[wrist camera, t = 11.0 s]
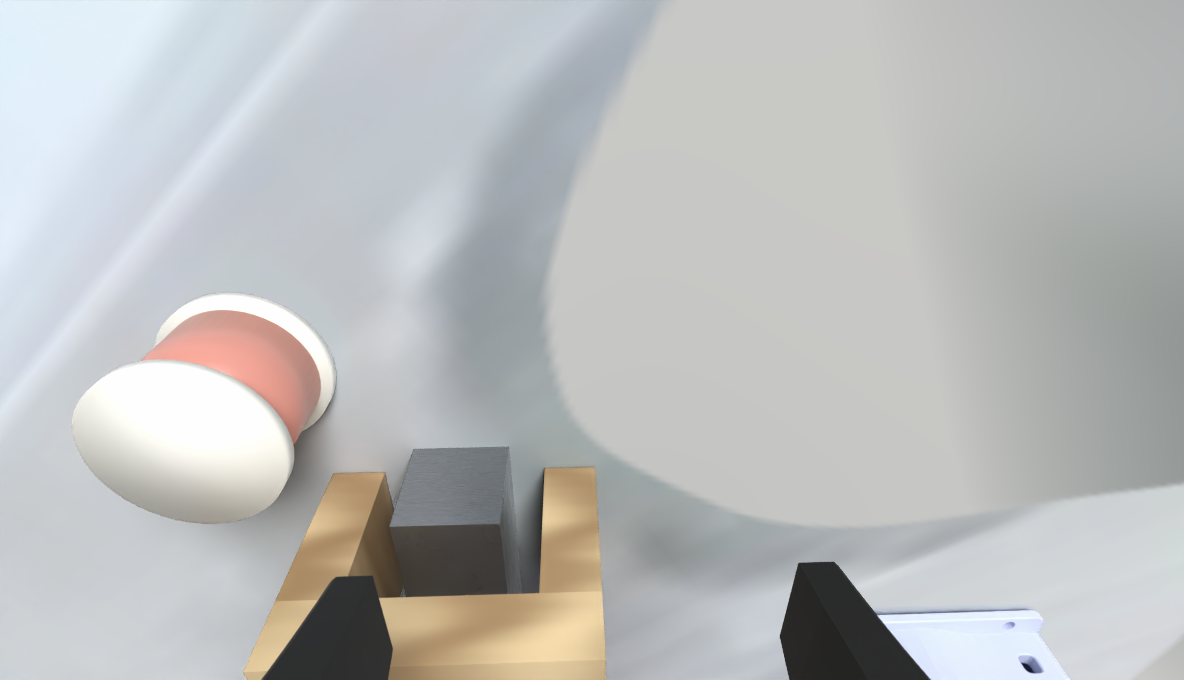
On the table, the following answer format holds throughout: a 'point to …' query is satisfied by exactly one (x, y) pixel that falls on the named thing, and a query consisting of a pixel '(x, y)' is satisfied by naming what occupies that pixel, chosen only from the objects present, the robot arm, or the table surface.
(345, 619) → the robot arm
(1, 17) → the table surface
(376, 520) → the wooden u-shaped cradle
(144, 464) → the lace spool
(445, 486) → the dark grey bar
